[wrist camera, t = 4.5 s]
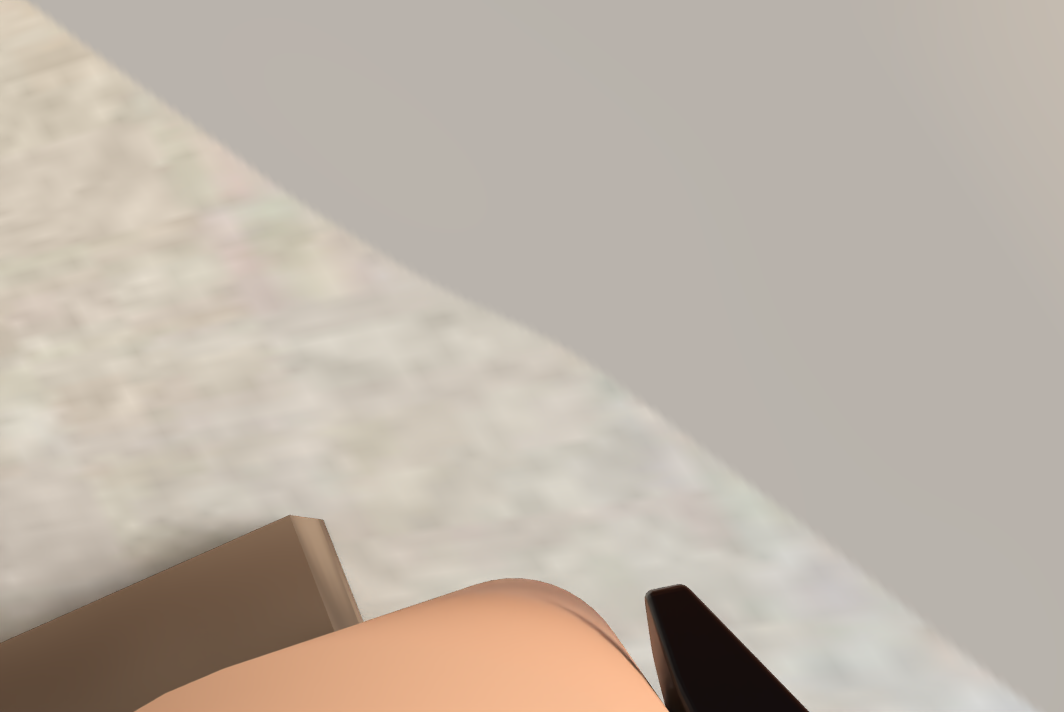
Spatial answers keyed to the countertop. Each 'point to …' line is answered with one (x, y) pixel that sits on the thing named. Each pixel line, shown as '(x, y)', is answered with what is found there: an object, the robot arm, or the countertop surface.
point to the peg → (442, 662)
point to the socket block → (183, 624)
